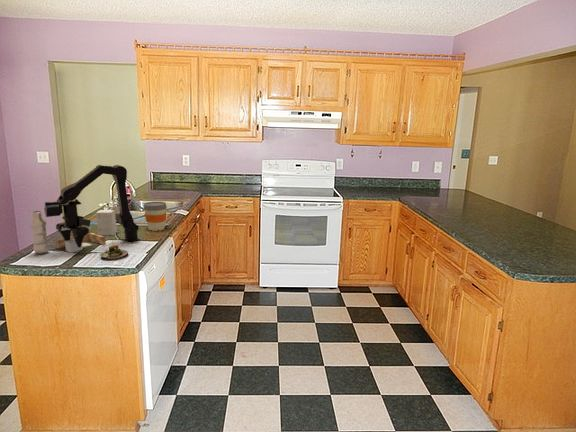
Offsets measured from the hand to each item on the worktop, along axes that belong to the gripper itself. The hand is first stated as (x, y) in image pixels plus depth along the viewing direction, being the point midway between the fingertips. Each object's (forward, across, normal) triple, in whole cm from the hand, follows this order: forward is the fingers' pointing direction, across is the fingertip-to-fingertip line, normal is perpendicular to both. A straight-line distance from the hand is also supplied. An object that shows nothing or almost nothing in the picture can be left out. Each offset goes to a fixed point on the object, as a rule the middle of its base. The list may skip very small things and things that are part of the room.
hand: (74, 245), depth 192 cm
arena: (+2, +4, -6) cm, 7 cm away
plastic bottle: (+2, +8, +11) cm, 14 cm away
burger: (+3, -23, -6) cm, 24 cm away
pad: (+2, +4, -6) cm, 8 cm away
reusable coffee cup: (+2, 0, -49) cm, 49 cm away
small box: (+2, +13, -26) cm, 29 cm away
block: (+2, 0, 0) cm, 2 cm away
